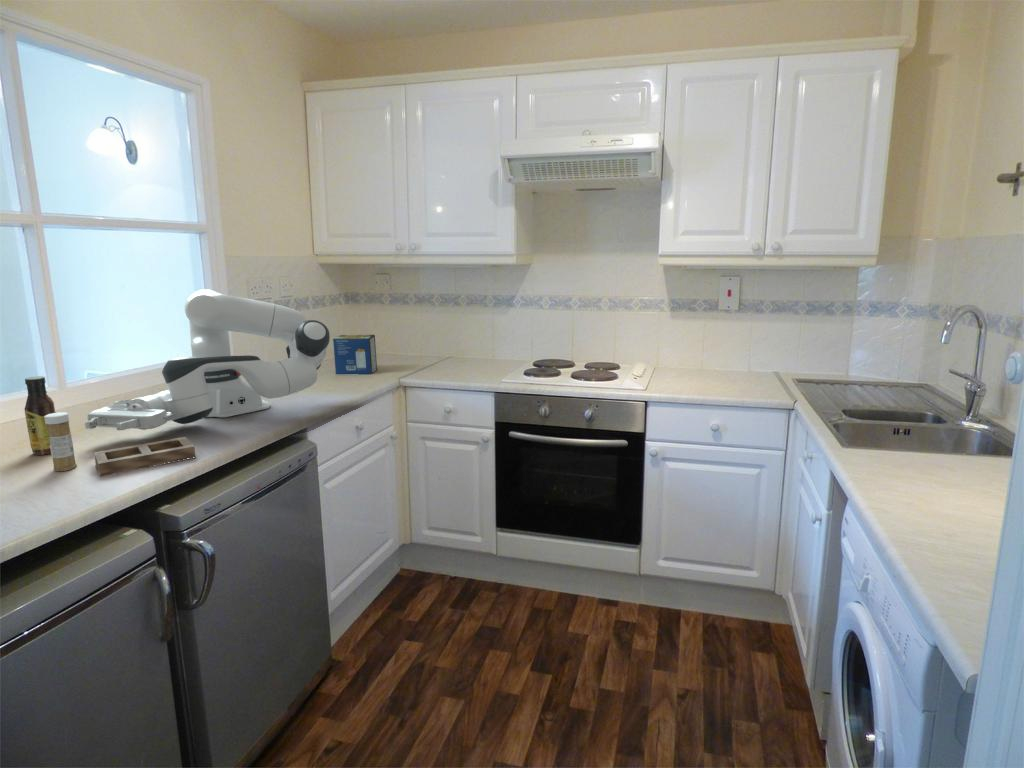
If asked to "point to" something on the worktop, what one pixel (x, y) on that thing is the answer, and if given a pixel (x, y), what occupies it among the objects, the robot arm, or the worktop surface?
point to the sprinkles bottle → (60, 441)
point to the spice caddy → (143, 455)
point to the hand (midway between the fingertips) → (102, 426)
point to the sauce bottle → (38, 414)
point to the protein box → (355, 354)
